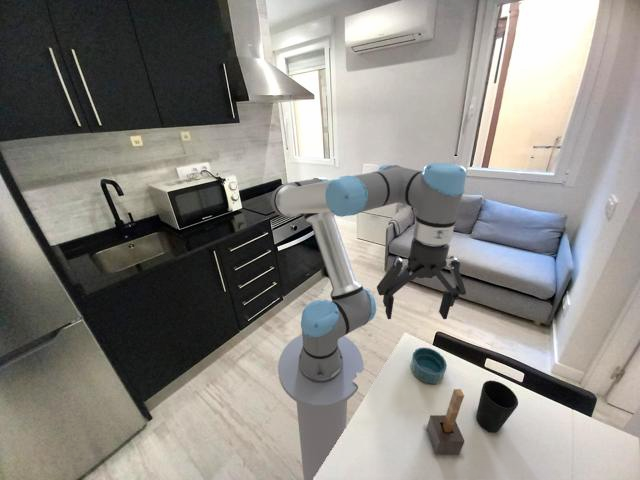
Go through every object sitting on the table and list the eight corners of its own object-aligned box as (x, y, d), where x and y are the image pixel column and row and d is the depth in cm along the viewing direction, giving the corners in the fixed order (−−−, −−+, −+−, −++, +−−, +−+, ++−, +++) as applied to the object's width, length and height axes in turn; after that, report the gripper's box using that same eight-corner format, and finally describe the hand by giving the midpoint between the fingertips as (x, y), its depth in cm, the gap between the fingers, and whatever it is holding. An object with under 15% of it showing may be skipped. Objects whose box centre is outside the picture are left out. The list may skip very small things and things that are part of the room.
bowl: (404, 370, 86) (406, 359, 83) (419, 352, 92) (422, 342, 90) (434, 391, 79) (437, 380, 77) (448, 371, 85) (451, 360, 83)
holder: (435, 454, 64) (439, 441, 62) (426, 428, 70) (430, 415, 67) (459, 454, 64) (464, 441, 61) (448, 428, 69) (453, 415, 67)
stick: (440, 445, 66) (457, 395, 57) (438, 438, 67) (453, 388, 59) (447, 445, 66) (464, 395, 57) (444, 438, 67) (461, 388, 59)
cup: (479, 402, 76) (490, 375, 70) (508, 424, 70) (523, 396, 65) (466, 419, 71) (477, 391, 66) (496, 444, 66) (510, 416, 61)
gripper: (375, 248, 51) (367, 326, 61) (501, 247, 51) (473, 326, 61) (369, 232, 58) (363, 305, 68) (480, 231, 58) (458, 305, 67)
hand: (415, 315), depth 64 cm, fingers open, 13 cm apart
